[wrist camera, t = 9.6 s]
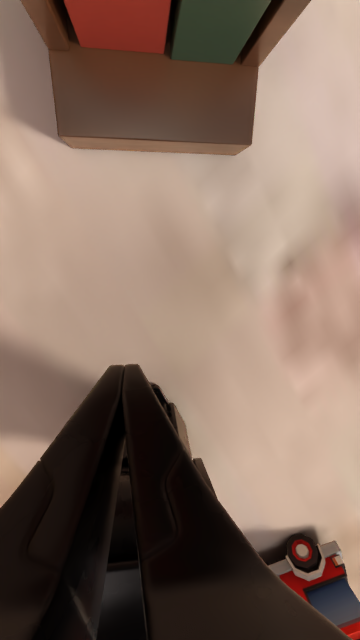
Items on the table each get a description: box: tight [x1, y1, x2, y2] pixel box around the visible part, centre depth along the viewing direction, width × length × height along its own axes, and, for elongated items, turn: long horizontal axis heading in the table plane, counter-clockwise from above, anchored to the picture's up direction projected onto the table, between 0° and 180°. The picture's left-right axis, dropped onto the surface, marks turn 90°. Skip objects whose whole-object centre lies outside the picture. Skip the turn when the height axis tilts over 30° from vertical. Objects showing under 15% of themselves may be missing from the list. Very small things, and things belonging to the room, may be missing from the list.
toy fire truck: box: [268, 534, 360, 640], centre depth 30 cm, size 9×19×10 cm, turn 110°
